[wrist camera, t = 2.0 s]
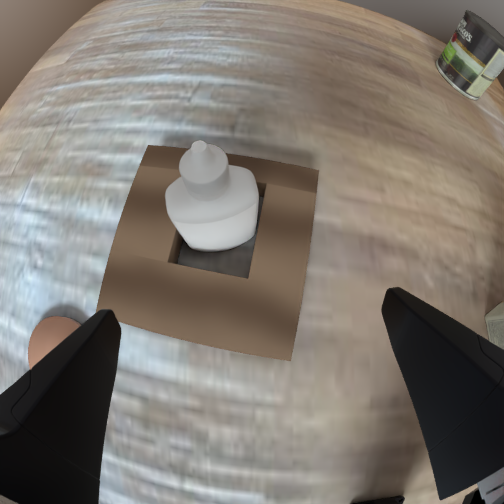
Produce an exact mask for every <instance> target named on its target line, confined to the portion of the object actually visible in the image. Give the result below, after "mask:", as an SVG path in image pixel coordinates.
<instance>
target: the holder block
mask: <svg viewBox="0 0 504 504" xmlns="http://www.w3.org/2000/svg"><path fill="white" fill-rule="evenodd" d="M188 150H189V149H186V148H177V147H166V146H153V145H148V147H147V149H146V151H145V154H144V156H143V158H142V161H141V163H140V166H139V168H138V171H137V173H136V176H135V178H134V181H133V184H132V186H131V189H130V192H129V195H128V197H127V200H126V203H125V206H124V209H123V212H122V215H121V218H120V221H119V224H118V227H117V230H116V234H115V237H114V240H113V244H112V247H111V251H110V254H109V258H108V262H107V266H106V270H105V273H104V278H103V282H102V286H101V290H100V295H99V299H98V304H97V309H96V313H97V312H98V311H99V310H101V309H111V310H113V312H114V314H115V316H116V318H117V320H118V322H122V323H125V324H128V325H131V326H135V327H138V328H141V329H145V330H148V331H152V332H155V333H159V334H162V335H166V336H170V337H174V338H178V339H181V340H185V341H190V342H194V343H198V344H202V345H207V346H211V347H216V348H220V349H225V350H230V351H235V352H240V353H245V354H251V355H256V356H262V357H268V358H274V359H280V360H287V361H291V357H292V352H293V346H294V341H295V336H296V331H297V325H298V320H299V314H300V308H301V302H302V296H303V290H304V284H305V277H306V271H307V264H308V257H309V250H310V243H311V235H312V227H313V219H314V211H315V202H316V193H317V184H318V174H319V170H315V169H310V168H305V167H301V166H296V165H291V164H286V163H281V162H275V161H270V160H264V159H259V158H253V157H246V156H240V155H234V154H227V153H225V154H226V155H227V158H228V165H233V166H239V167H243V168H246V169H248V170H250V171H251V172H252V173H253V175H254V177H255V180H256V184H257V188H258V193H259V196H262V197H264V200H263V205H262V210H261V216H260V221H259V226H258V231H257V236H256V241H255V246H254V251H253V256H252V261H251V267H250V272H249V277H248V279H247V278H242V277H237V276H232V275H227V274H222V273H217V272H212V271H207V270H202V269H197V268H192V267H187V266H183V265H178V264H177V261H178V257H179V253H180V249H181V245H182V241H183V237H182V236H181V234H180V233H179V231H178V230H177V228H176V227H175V225H174V224H173V222H172V221H171V219H170V217H169V215H168V213H167V207H166V199H165V193H166V189H167V188H168V187H169V185H171V184H172V183H173V182H174V181H175V180H177V179H178V178H179V177H181V174H180V171H179V163H180V160H181V158H182V156H183V155H184V153H185V152H186V151H188Z"/></svg>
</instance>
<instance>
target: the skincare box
mask: <svg viewBox="0 0 504 504" xmlns="http://www.w3.org/2000/svg"><path fill="white" fill-rule="evenodd" d="M485 320H486V325H487V330H488V336H489V341H490V342H492V343H493V344H495V345H497V346H498V347H500V348H502V349H504V301H502V302H501V303H500V304H499V305H497V306H496V307H495V308H494V309H493V310H491V311H490V312H489V313H488V314H487V315H486V316H485Z"/></svg>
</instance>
